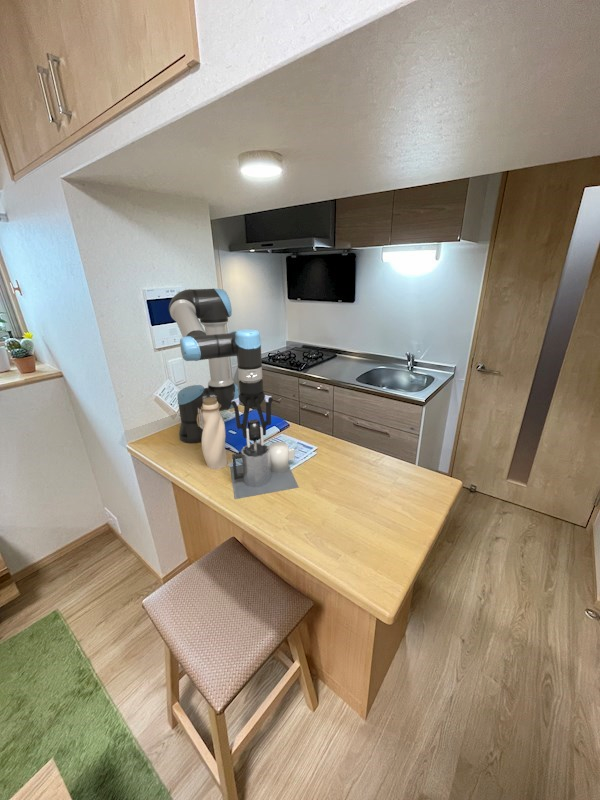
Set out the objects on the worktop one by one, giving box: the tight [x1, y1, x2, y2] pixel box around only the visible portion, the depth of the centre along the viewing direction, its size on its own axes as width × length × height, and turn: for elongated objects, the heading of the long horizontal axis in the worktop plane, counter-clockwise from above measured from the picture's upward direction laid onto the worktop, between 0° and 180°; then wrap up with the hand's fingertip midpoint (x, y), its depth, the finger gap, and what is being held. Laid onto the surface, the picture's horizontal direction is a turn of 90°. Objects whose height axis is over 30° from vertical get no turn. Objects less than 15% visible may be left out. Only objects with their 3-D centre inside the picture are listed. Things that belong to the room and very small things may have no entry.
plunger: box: [247, 419, 261, 456], centre depth 109 cm, size 7×7×19 cm
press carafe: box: [231, 442, 271, 487], centre depth 111 cm, size 10×13×12 cm
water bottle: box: [197, 397, 228, 471], centre depth 118 cm, size 10×9×28 cm
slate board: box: [229, 464, 300, 500], centre depth 116 cm, size 20×22×1 cm
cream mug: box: [268, 441, 296, 473], centre depth 119 cm, size 8×10×9 cm
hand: (255, 444), depth 109 cm, fingers closed on plunger, 4 cm apart
